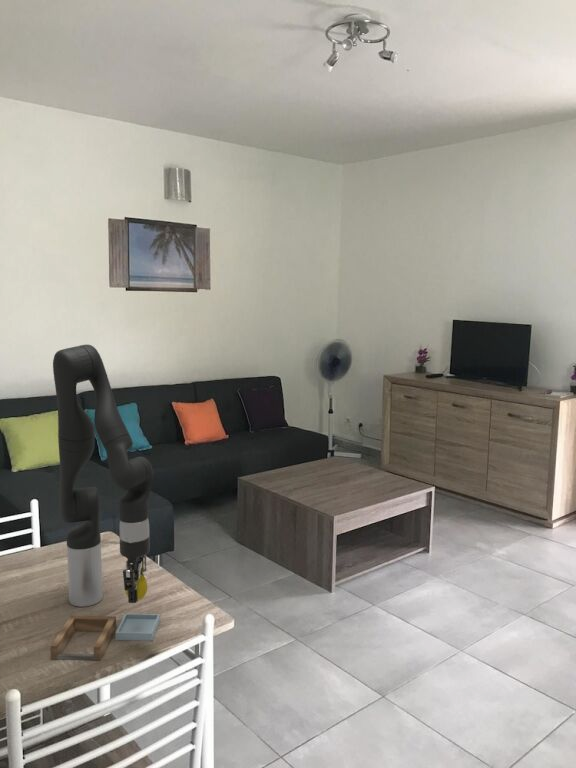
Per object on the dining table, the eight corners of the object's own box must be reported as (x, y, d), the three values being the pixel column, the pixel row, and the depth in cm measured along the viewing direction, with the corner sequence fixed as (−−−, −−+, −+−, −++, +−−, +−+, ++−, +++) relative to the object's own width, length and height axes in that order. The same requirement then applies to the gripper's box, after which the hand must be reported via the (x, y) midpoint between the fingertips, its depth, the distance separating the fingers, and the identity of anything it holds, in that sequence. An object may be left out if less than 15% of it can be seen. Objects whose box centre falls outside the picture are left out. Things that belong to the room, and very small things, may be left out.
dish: (125, 620, 172) (125, 613, 171) (160, 620, 172) (159, 614, 171) (115, 639, 162) (115, 632, 162) (152, 640, 162) (152, 633, 162)
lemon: (139, 594, 169) (138, 566, 168) (151, 601, 165) (151, 572, 164) (121, 602, 165) (120, 573, 164) (134, 609, 161) (133, 579, 160)
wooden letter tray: (71, 627, 168) (70, 615, 167) (116, 628, 168) (116, 616, 167) (51, 659, 154) (50, 646, 153) (100, 660, 154) (99, 647, 153)
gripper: (127, 524, 169) (129, 583, 172) (111, 546, 155) (113, 610, 158) (155, 524, 169) (156, 584, 172) (141, 546, 155) (143, 610, 158)
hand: (136, 596), depth 165 cm, fingers closed on lemon, 5 cm apart
